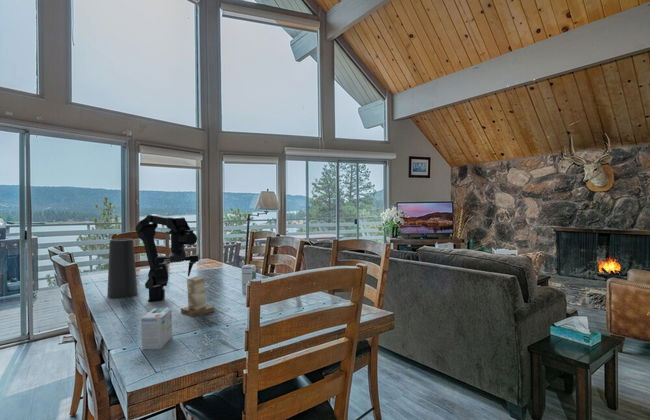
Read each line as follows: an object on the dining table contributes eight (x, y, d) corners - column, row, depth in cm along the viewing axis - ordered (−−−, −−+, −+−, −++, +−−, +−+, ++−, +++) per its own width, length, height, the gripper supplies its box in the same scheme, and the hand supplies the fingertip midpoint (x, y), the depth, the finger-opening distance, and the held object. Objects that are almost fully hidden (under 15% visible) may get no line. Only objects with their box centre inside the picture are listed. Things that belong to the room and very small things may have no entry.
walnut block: (180, 314, 158) (180, 308, 158) (200, 308, 166) (200, 303, 166) (194, 318, 152) (194, 312, 152) (214, 312, 160) (214, 306, 160)
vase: (101, 296, 184) (99, 240, 183) (124, 290, 197) (123, 237, 196) (120, 299, 179) (119, 241, 178) (143, 293, 192) (142, 238, 191)
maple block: (188, 308, 158) (186, 279, 157) (197, 305, 162) (195, 276, 161) (197, 309, 155) (195, 280, 155) (205, 306, 160) (204, 277, 159)
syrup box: (252, 294, 188) (252, 266, 188) (241, 293, 189) (241, 266, 189) (256, 291, 194) (256, 264, 193) (246, 291, 195) (245, 264, 194)
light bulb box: (153, 337, 129) (152, 307, 129) (172, 337, 130) (172, 307, 130) (140, 350, 119) (140, 317, 118) (162, 349, 119) (161, 316, 119)
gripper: (152, 246, 159) (152, 282, 160) (196, 245, 164) (197, 279, 164) (157, 243, 170) (158, 276, 170) (199, 242, 174) (199, 274, 175)
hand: (178, 277), depth 170 cm, fingers open, 9 cm apart
